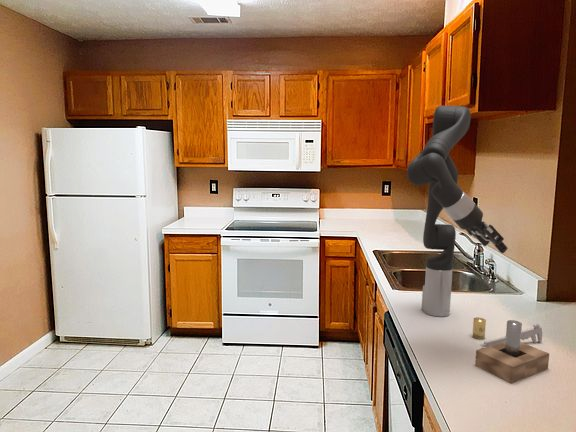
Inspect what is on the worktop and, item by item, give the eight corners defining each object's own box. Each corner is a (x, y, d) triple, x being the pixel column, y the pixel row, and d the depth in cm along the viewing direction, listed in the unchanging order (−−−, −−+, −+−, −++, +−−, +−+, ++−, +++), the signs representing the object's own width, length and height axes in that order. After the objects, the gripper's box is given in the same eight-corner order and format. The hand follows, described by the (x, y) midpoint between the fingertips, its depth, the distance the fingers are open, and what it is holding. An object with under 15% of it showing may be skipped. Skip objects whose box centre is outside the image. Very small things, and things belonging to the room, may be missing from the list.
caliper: (539, 342, 138) (540, 323, 137) (541, 343, 137) (543, 324, 136) (480, 346, 135) (481, 326, 134) (482, 347, 133) (483, 328, 133)
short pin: (470, 336, 141) (471, 318, 140) (477, 334, 143) (478, 316, 142) (479, 340, 138) (480, 322, 137) (487, 338, 140) (488, 320, 139)
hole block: (475, 365, 122) (476, 350, 121) (510, 352, 130) (512, 338, 129) (511, 383, 112) (512, 367, 112) (547, 368, 120) (549, 353, 119)
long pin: (500, 365, 122) (504, 321, 120) (508, 362, 123) (512, 319, 121) (512, 371, 118) (516, 326, 117) (520, 368, 120) (524, 323, 118)
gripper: (486, 204, 117) (520, 243, 121) (458, 197, 131) (490, 233, 135) (466, 223, 117) (501, 263, 121) (440, 214, 131) (472, 250, 135)
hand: (495, 247), depth 128 cm, fingers open, 8 cm apart
